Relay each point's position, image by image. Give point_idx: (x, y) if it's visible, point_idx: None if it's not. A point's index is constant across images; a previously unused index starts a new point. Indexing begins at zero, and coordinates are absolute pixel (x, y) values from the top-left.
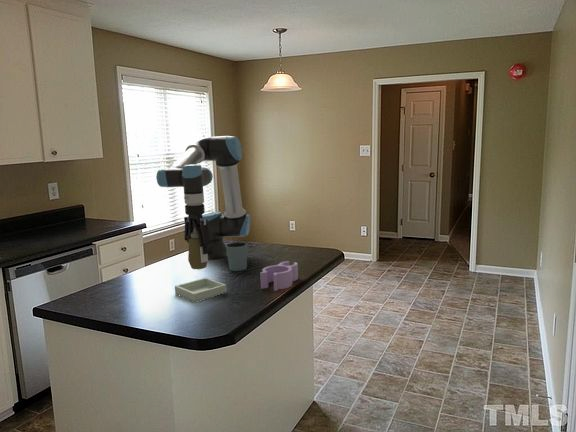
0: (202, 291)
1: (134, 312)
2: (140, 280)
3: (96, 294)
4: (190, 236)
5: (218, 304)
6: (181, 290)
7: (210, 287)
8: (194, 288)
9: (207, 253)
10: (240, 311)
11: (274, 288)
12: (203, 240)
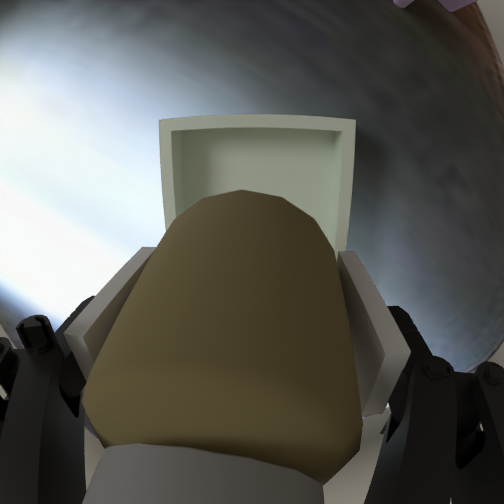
0: None
1: None
2: (5, 269)
3: None
4: (77, 457)
5: (414, 230)
6: None
7: (231, 133)
8: (187, 193)
9: (318, 242)
10: (495, 224)
11: (455, 10)
12: (458, 464)
